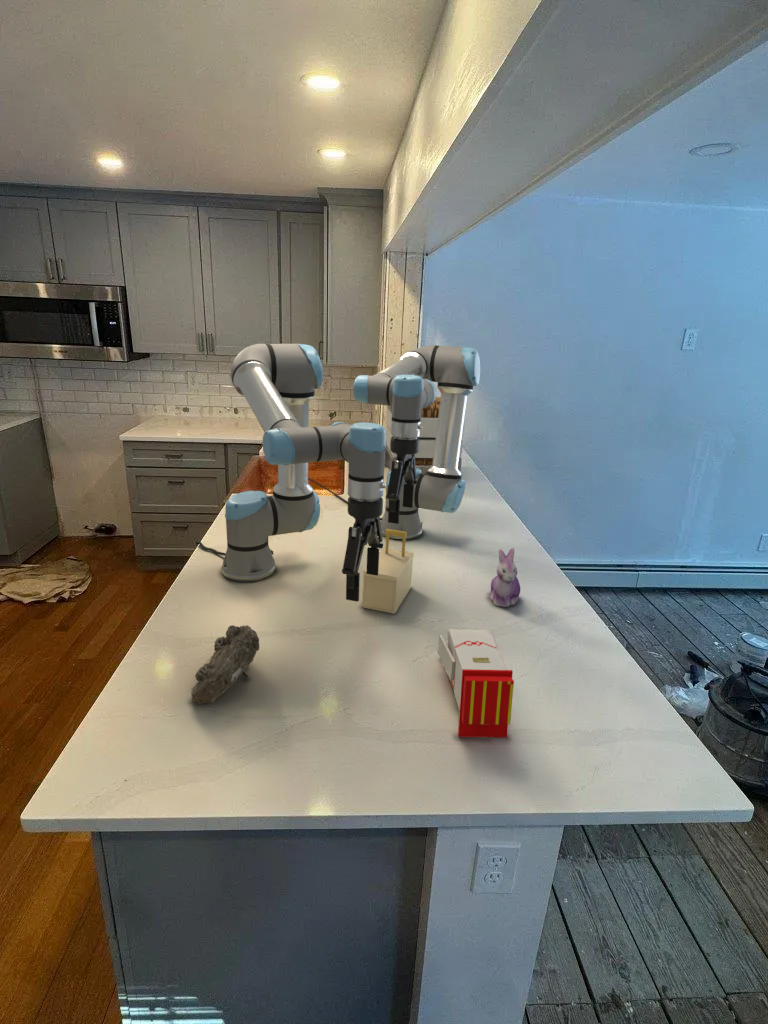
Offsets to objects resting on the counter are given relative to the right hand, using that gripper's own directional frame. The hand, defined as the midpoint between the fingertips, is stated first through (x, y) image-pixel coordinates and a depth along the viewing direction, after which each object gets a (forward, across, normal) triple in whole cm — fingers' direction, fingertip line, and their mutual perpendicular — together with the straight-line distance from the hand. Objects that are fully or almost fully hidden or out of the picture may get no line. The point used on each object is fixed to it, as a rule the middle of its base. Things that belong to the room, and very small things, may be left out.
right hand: (400, 514), depth 153 cm
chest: (+22, -6, +1) cm, 23 cm away
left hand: (+7, -31, 0) cm, 31 cm away
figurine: (+22, +5, -30) cm, 38 cm away
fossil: (+23, -52, +21) cm, 60 cm away
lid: (+13, -5, +1) cm, 14 cm away
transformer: (+22, +120, +24) cm, 124 cm away
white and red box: (+23, -38, -28) cm, 52 cm away
